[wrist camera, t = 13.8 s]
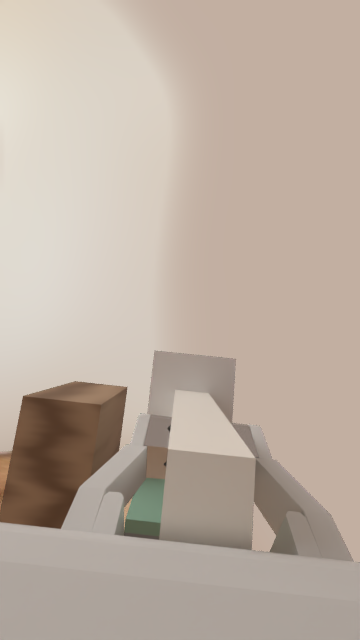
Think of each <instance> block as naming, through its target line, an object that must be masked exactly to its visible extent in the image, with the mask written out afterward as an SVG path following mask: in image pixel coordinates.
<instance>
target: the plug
mask: <svg viewBox="0 0 360 640" xmlns="http://www.w3.org/2000/svg"><path fill="white" fill-rule="evenodd" d="M235 366H236V359H233V358H223V357H213V356H203V355H194V354H184V353H183V354H182V353H173V352H163V351H155V352H154V360H153V369H152V377H151V386H150V395H149V404H148V412H147V414H150V415H151V414H152V415H159V416H167V417H172V421H171V429H170V437H169V446H168V455H167V465H166V475H165V485H164V495H163V505H162V515H161V525H160V535H159V540H165V541H174V542H183V543H192V544H201V545H210V546H219V547H228V548H237V549H246V550H252V530H253V529H252V528H253V507H254V486H255V464H256V458H255V457H254V455H253V454H252V452H251V451H250V450H249V448H248V447H247V445H246V444H245V443H244V441H243V440H242V439H241V437H240V436H239V434H238V433H237V432H236V430H235V429H234V427H233V426H232V425H231V423H232V414H233V399H234V398H233V396H234V382H235V381H234V380H235Z"/></svg>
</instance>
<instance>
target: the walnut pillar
mask: <svg viewBox="0 0 360 640" xmlns="http://www.w3.org/2000/svg"><path fill="white" fill-rule="evenodd" d="M126 394H127V387H121V386H112V385H103V384H94V383H85V382H76V381H75V382H71V383H68V384H64V385H61V386H57V387H54V388H50V389H47V390H43V391H40V392H36V393H32V394H29V395H25V396H23V400H22V405H21V410H20V415H19V420H18V425H17V430H16V435H15V440H14V445H13V450H12V455H11V460H10V465H9V470H8V475H7V480H6V485H5V490H4V495H3V500H2V505H1V510H0V522H3V523H12V524H21V525H30V526H39V527H48V528H57V529H61V527H62V525H63V523H64V520H65V518H66V516H67V514H68V512H69V509H70V507H71V505H72V503H73V500H74V498H75V496H76V494H77V491H78V489H79V487H80V486H81V485H82V484H83V483H84V482H85V481H86V480H88V479H89V478H90V477H91V476H92V475H93V474H94V473H95V472H96V471H98V470H99V469H100V468H101V467H102V466H103V465H104V464H105V463H106V462H108V461H109V460H110V459H111V458H112V457H113V456H114V455H115V454H116V453H117V452H119V446H120V438H121V431H122V423H123V416H124V408H125V401H126Z"/></svg>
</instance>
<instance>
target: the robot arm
mask: <svg viewBox="0 0 360 640" xmlns="http://www.w3.org/2000/svg"><path fill="white" fill-rule="evenodd" d="M171 421H172V417H167V416H159V415H152V414H151V415H150V414H142V413H140V414H139V416H138V419H137V423H136V426H135V429H134V433H133V436H132V440H131V443H130V444H127V445H125V446H124V447H123V448H122V449H121V450H120V451H119V452H117V453H116V454H115V455H114V456H113V457H112V458H111V459H110V460H109V461H108V462H106V463H105V464H104V465H103V466H102V467H101V468H100V469H99V470H98V471H96V472H95V473H94V474H93V475H92V476H91V477H90V478H89V479H88V480H86V481H85V482H84V483H83V484H82V485H81V486H80V487H79V489H78V491H77V494H76V496H75V498H74V500H73V503H72V505H71V507H70V509H69V512H68V514H67V516H66V518H65V520H64V523H63V525H62V527H61V529H57V528H48V527H39V526H30V525H21V524H12V523H3V522H0V640H360V562H354V561H353V559H352V557H351V555H350V553H349V551H348V548H347V546H346V544H345V542H344V540H343V538H342V537H341V534H340V532H339V531H338V528H337V526H336V524H335V522H334V520H333V518H332V516H331V514H330V513H328V511H327V510H325V508H323V506H322V505H321V504H319V502H318V501H317V500H316V499H315V498H314V497H313V496H311V494H310V493H308V492H307V490H306V489H305V488H304V487H303V486H302V485H301V484H300V483H299V482H298V481H297V480H296V479H295V478H294V477H293V476H292V475H291V474H290V473H289V472H288V471H287V470H286V469H285V468H284V467H283V466H282V465H281V464H280V463H279V462H277V461H276V460H273V459H272V456H271V454H270V451H269V448H268V445H267V442H266V440H265V437H264V434H263V432H262V429H261V427H260V426H257V425H247V424H236V423H231V425H232V426H233V427H234V429H235V430H236V432H237V433H238V434H239V436H240V437H241V439H242V440H243V441H244V443H245V444H246V445H247V447H248V448H249V450H250V451H251V452H252V454H253V455H254V457H255V458H256V464H255V486H254V502H255V504H256V506H257V507H258V508H259V510H260V511H261V513H262V514H263V516H264V517H265V519H266V521H267V522H268V524H269V525H270V527H271V528H272V530H273V531H274V533H275V534H276V539H275V541H274V543H273V545H272V548H271V550H270V552H264V551H255V550H246V549H237V548H228V547H219V546H210V545H201V544H192V543H183V542H174V541H165V540H156V539H147V538H138V537H129V536H124V507H125V506H126V505H127V503H128V502H129V501H130V499H131V498H132V497H133V495H134V494H135V493H136V491H137V490H138V489H139V487H140V486H141V485H142V483H143V482H144V481H145V479H146V478H157V479H165V475H166V465H167V455H168V446H169V437H170V429H171Z"/></svg>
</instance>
